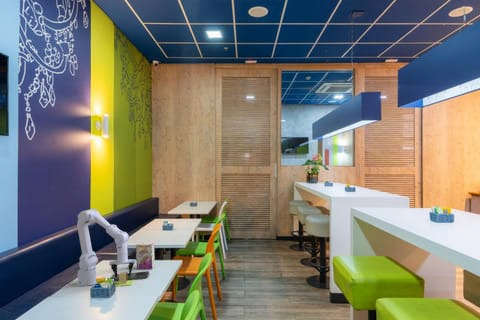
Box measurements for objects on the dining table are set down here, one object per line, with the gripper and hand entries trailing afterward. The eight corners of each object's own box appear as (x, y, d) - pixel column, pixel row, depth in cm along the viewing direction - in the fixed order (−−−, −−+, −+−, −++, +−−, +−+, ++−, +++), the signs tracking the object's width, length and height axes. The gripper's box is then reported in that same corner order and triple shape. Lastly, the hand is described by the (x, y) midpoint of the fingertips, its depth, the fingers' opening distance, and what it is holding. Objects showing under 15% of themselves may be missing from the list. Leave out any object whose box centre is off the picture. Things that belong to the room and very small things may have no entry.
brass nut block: (119, 284, 175) (118, 275, 175) (120, 281, 179) (120, 272, 179) (126, 283, 176) (126, 274, 176) (127, 281, 180) (127, 272, 180)
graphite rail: (109, 282, 181) (109, 278, 181) (112, 277, 188) (112, 274, 188) (147, 278, 184) (147, 275, 184) (149, 274, 191) (149, 271, 191)
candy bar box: (136, 269, 201) (135, 245, 201) (139, 266, 206) (138, 243, 206) (152, 269, 200) (151, 244, 200) (155, 266, 205) (154, 242, 205)
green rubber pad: (113, 287, 173) (113, 286, 173) (116, 282, 180) (116, 281, 180) (131, 285, 174) (131, 284, 174) (133, 280, 181) (133, 279, 181)
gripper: (136, 250, 182) (137, 272, 182) (111, 252, 180) (112, 275, 180) (134, 253, 175) (135, 277, 175) (108, 256, 173) (108, 279, 173)
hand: (123, 276), depth 177 cm, fingers open, 7 cm apart
